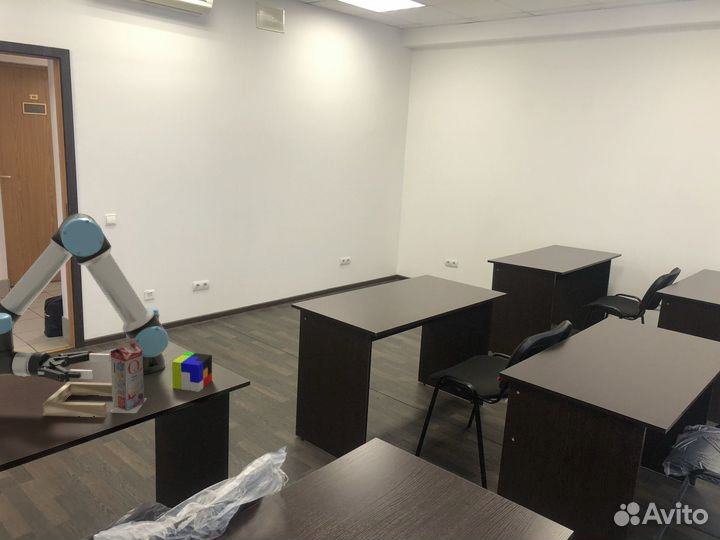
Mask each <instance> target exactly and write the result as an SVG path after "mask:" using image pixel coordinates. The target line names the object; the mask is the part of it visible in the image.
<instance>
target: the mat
mask: <svg viewBox="0 0 720 540" xmlns="http://www.w3.org/2000/svg"><path fill="white" fill-rule="evenodd" d="M146 401H147V397H144V403H145V402H146ZM143 405H144V404H142V405H140V406H137V407H135V408H133V409H131V410H129V411H125V410H122V409H120V408H117V407H114V406H113V408H112V409H111V410H110V411H109V412H110V413H113V414H114V413H116V414H119V413H120V414H137V412H139V410H140V409H141V407H142V406H143Z"/></svg>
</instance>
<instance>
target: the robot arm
mask: <svg viewBox="0 0 720 540" xmlns="http://www.w3.org/2000/svg"><path fill="white" fill-rule="evenodd" d="M112 247H113V246H112V245H111V243H110V241H109V240H108V239H107V237H106V235H105V234H104V231H103V229H102V227H101V226H100V225H99V224H98V222H97V221H96V220H95V219H94V218H93V217H92V216H90V215H88V214H85V213H81V212H79V213H73V214H70V215H68V216H67V217H65V219H63V221H62V222H61V224H60V225H59V227H58V228H57V230H56V231H55V233H54V234H53V235H52V236H51V237H50V243H49V244H48V246H47V247H46V248H45V249H44V251H43V252H42V253H41V254H40V255H39V257H38V258H37V259H36V260H35V261H34V263H32V265H31V266H30V267H29V268H28V270H27V271H26V272H25V273H24V274H23V276H21V278H20V279H19V280H18V281H17V282H16V284H15V285H14V286H13V287H12V288H11V290H10V291H8V293H7V294H6V296H5V297H4V298H3V299H2V300H1V301H0V376H19V377H21V376H22V377H23V378H25V377H27V376H28V377H29V376H30V377H31V376H32V377H39V378H47V379H48V380H49V379H50V380H53V381H57V382H60V383H63V382H65V383H67V382H71V381H70V379H72V380H73V379H74V380H77V379H78V380H93V379H94V370H93V369H69V370H68V369H67V367H69V366H70V365H74V364H80V363H84V362H89V363H111V354H110V353H92V351H91V350H90V349H89V350H82V351H75V352H66V353H65V352H63V353H62V352H61V353H57V356H54V357H51V355H50V354H49V353H48V352H42V351H41V352H39V351H36V352H34V351H15V345H14V344H15V343H14V326H15V324H16V323H17V322H18V321H19V319H20V318H21V317H22V316H23V315H24V314H25V312H26V311H27V309H29V307H30V306H31V305H32V303H33V302H34V301H35V300H36V299H37V298H38V296H40V295H41V293H42V292H43V290H45V288H46V287H47V286H48V285H49V284H50V282H51V281H52V280H53V279H54V277H56V275H57V274H58V273H59V272H60V270H61V269H62V268H63V267H64V266H65V265H66V264H67V262H68V261H69V260H70V259H71V258H72V257H73V259H74V260H75V262H76V263H77V264H78V265H79V266H80V265H81V266H85V268H86V269H87V271H88V272H89V274H90V275H91V277H92V278H93V279H94V281H95V283H96V284H97V286H98V287H99V289H100V290H101V292H102V293H103V295H104V296H105V297H106V299H107V300H108V302H109V303H110V305H111V306H112V308H113V310H114V311H115V313H116V314H117V315H118V317H119V318H120V320H121V321H122V323H123V325H122V328H121V329H122V331H123V333H124V335H126V337H125V338H126V341H127V340H130V339H133V338H135V343H136V344H137V345H138V346H139V347H140V348H141V349H142V356H143V375H148V374H154V373H157V372H160V371H161V370H162V369H164V368H165V366H166V360H165V357H164V354H163V353H164V351H165V350H166V349H167V347H168V345H169V333H168V332H167V330H166V329H165V328H164V327H163V325H162V324H161V322H160V313H159V310H158V309H157V308H155V307H154V308H153V307H145V305H144V304H143V302H142V300H141V298H139V296H138V294H137V293H136V291H135V290H134V288H133V286H132V285H131V283H130V281H129V280H128V279H127V277H126V276H125V274H124V273H123V271H122V269H121V268H120V266H119V264H118V263H117V262H116V260H115V258H114V257H113V255H112V253H111V251H112Z"/></svg>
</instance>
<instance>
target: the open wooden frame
mask: <svg viewBox="0 0 720 540" xmlns="http://www.w3.org/2000/svg"><path fill="white" fill-rule="evenodd" d="M87 395H99V396H100V397H113V396H112V382H85V381H84V382H82V381H79V382H78V381H69V382H65V384H64V385H63V386H61V387H60V388H59V389H58V390H56V392H54V393H53V394H52V395H50V397H48V398H47V399H46V400H45V401H44V402H43V403H42V412H43V417H45V416H46V417H50V416H51V417H78V416H80V417H81V418H82V417H83V418H85V417H86V418H105V417H106V416H107V403H106V402H86V401H85V402H80V401H78V402H77V401H75V402H74V401H66V400H68V399H69V398H70V397H71V396H87ZM69 396H70V397H69ZM99 396H98V397H99ZM68 397H69V398H68ZM67 398H68V399H67ZM93 416H95V417H93Z"/></svg>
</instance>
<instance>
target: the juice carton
mask: <svg viewBox="0 0 720 540" xmlns="http://www.w3.org/2000/svg"><path fill="white" fill-rule="evenodd" d="M109 354H110V360H111V362H110V371H111V383H112V396H111V397H112V407H113V408H114V407H117V408H120V409H122V410H125V411H129V410H131V409H133V408H135V407H137V406H140V405H142V404H143V405H144V404H145V402H144V398H145V395H144V394H145V393H144V392H145V388H144V374H143V356H142V349H141V348H140V347H139V346H138V345H137V344H136V343H135V338H133V339H130V340H127V339H126V340H125V341H122V342H119V343H118V342H117V344H116V348H115V349H113V350H111V351H110V353H109ZM143 405H142V406H143Z"/></svg>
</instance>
